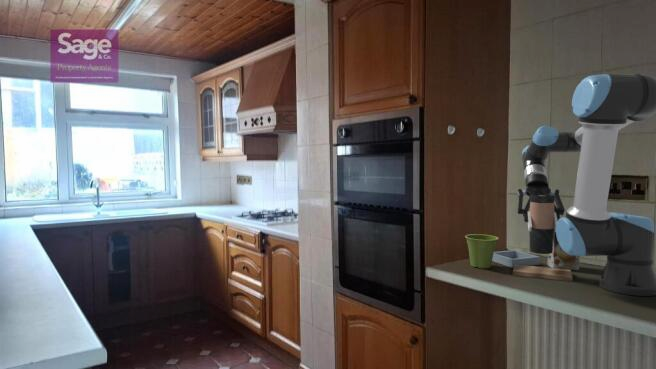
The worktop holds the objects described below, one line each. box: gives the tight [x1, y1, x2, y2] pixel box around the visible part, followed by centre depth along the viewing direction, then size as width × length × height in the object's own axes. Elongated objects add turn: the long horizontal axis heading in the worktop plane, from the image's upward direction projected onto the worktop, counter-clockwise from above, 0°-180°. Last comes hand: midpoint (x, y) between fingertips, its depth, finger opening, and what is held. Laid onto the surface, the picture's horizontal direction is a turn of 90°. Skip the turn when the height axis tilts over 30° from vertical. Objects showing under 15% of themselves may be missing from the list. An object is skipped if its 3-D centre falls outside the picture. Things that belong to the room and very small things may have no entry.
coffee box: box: [546, 230, 581, 271], centre depth 159 cm, size 9×6×16 cm
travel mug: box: [529, 194, 555, 255], centre depth 150 cm, size 8×8×20 cm
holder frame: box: [492, 249, 541, 269], centre depth 168 cm, size 13×13×3 cm
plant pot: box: [464, 233, 499, 269], centre depth 162 cm, size 12×12×11 cm
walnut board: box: [512, 265, 573, 282], centre depth 150 cm, size 18×10×2 cm, turn 63°
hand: (543, 229), depth 147 cm, fingers closed on travel mug, 7 cm apart
